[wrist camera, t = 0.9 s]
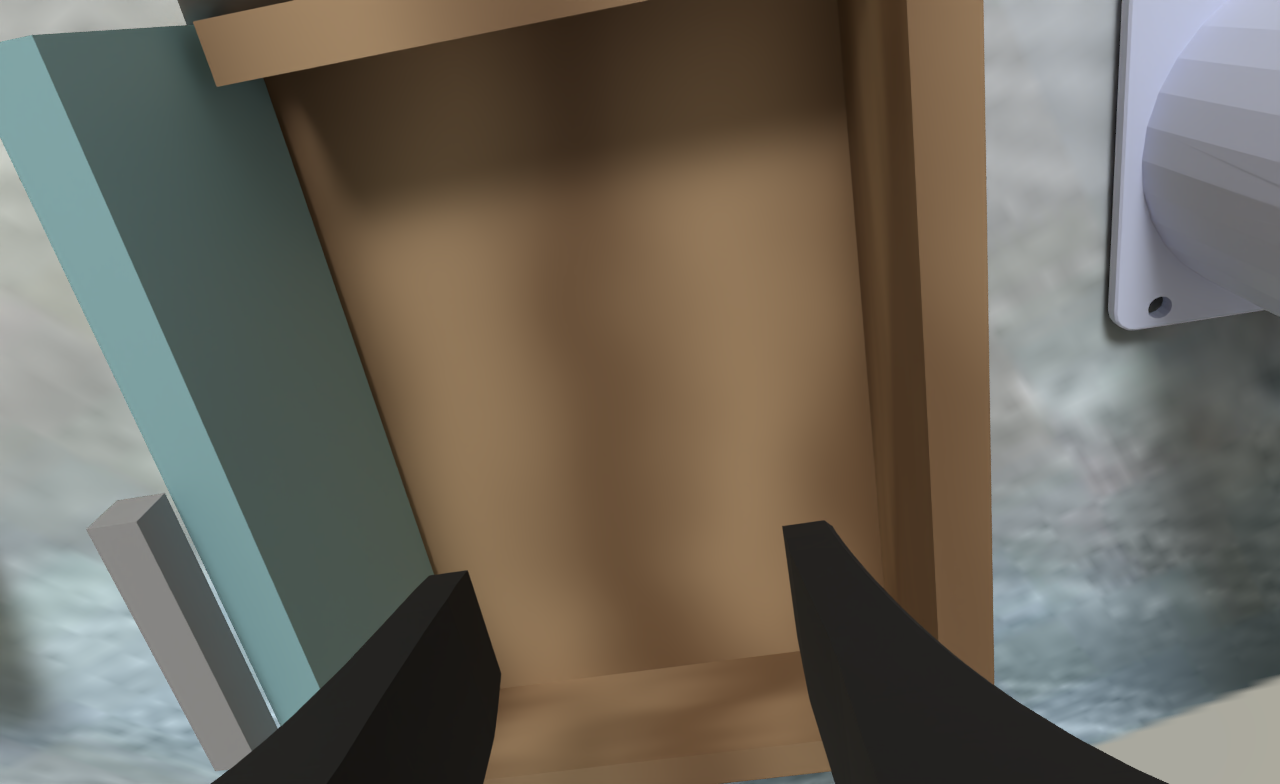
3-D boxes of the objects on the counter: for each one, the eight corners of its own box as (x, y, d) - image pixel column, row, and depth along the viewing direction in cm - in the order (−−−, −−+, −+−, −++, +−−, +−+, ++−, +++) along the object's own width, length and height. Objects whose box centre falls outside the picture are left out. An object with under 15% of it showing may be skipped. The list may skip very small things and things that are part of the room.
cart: (857, -170, 17) (978, -273, 10) (911, 647, 25) (997, 870, 19) (225, -34, 18) (-16, -50, 11) (478, 701, 26) (420, 927, 20)
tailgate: (243, 21, 16) (-21, 38, 10) (486, 727, 24) (423, 993, 17) (154, 39, 16) (-161, 68, 10) (423, 734, 24) (338, 1000, 17)
